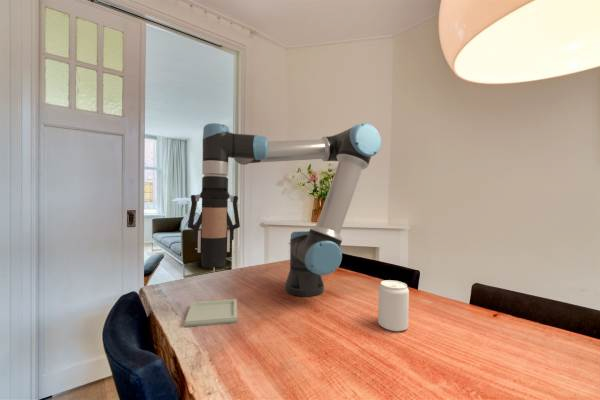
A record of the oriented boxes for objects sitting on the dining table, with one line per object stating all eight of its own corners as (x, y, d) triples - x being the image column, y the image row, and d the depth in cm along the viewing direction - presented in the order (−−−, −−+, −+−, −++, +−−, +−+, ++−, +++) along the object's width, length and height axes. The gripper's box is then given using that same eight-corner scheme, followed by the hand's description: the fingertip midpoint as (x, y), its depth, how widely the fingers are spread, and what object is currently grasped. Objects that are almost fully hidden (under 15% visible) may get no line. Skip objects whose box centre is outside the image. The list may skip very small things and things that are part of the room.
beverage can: (407, 322, 80) (408, 281, 80) (408, 335, 72) (409, 290, 72) (378, 317, 82) (379, 278, 82) (377, 329, 75) (378, 286, 75)
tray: (236, 303, 91) (236, 299, 91) (237, 322, 78) (237, 317, 78) (192, 307, 88) (192, 302, 88) (184, 327, 74) (184, 321, 74)
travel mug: (194, 266, 81) (195, 198, 80) (212, 260, 88) (213, 199, 87) (215, 269, 78) (216, 199, 78) (232, 263, 85) (233, 199, 85)
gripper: (248, 178, 88) (247, 248, 89) (181, 175, 84) (180, 250, 84) (250, 176, 81) (249, 252, 81) (176, 174, 76) (175, 255, 76)
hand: (214, 251), depth 83 cm, fingers closed on travel mug, 8 cm apart
